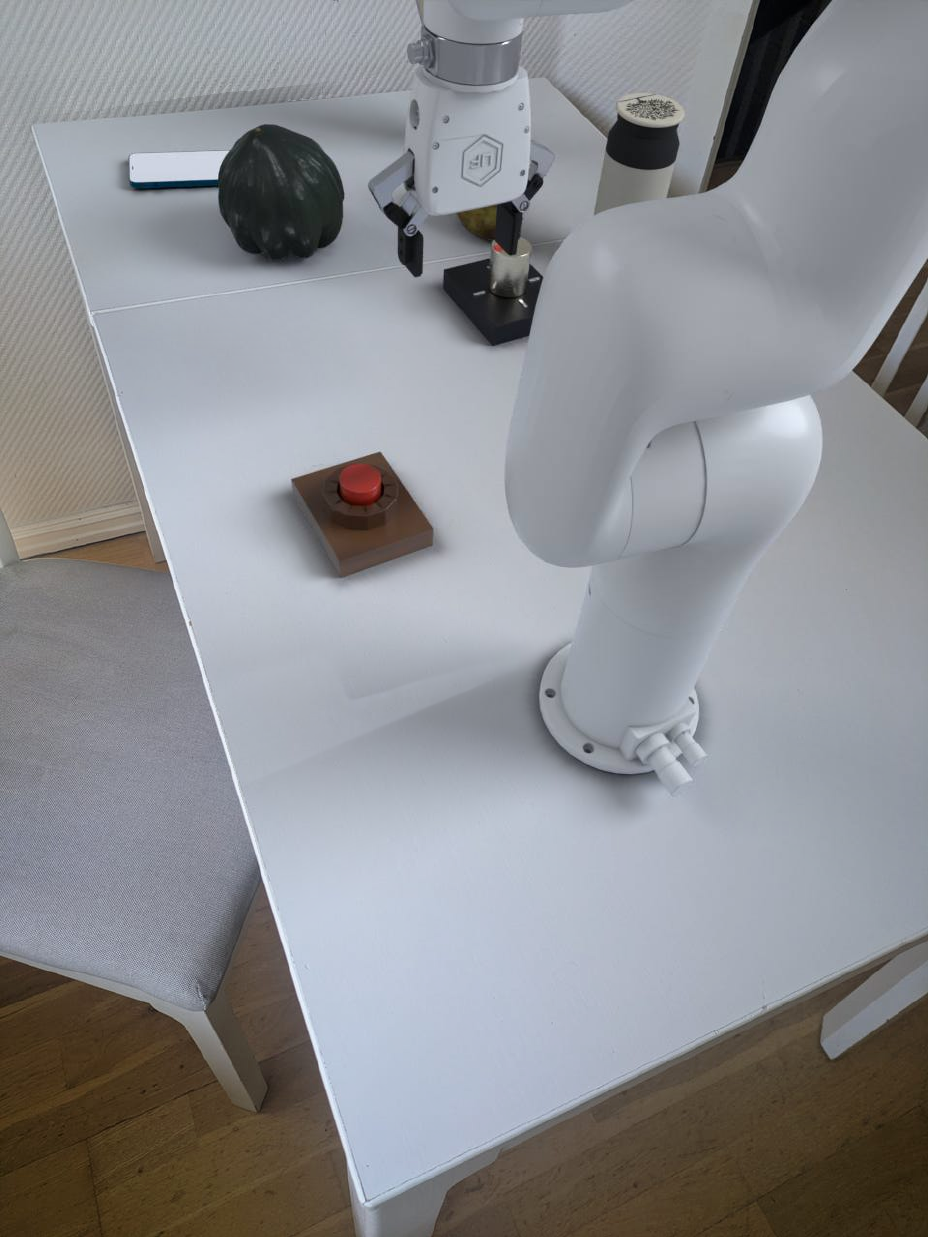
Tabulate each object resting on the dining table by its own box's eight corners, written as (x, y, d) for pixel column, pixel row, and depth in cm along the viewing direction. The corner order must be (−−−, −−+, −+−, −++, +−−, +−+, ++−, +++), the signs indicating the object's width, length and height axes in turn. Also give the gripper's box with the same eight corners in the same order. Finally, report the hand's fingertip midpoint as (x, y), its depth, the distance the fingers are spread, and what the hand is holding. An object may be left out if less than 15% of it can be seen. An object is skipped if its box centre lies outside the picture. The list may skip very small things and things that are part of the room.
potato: (460, 253, 111) (464, 189, 104) (435, 200, 118) (438, 137, 112) (524, 248, 113) (532, 184, 106) (496, 195, 120) (502, 133, 114)
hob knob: (514, 272, 105) (519, 229, 100) (533, 293, 102) (539, 249, 98) (481, 280, 103) (484, 236, 99) (498, 301, 101) (503, 257, 97)
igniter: (432, 545, 81) (434, 514, 78) (340, 578, 78) (338, 547, 75) (380, 468, 87) (380, 436, 84) (292, 495, 84) (289, 464, 81)
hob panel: (568, 324, 103) (572, 304, 101) (492, 346, 100) (494, 325, 98) (515, 270, 109) (518, 249, 107) (442, 288, 106) (443, 267, 104)
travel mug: (661, 272, 111) (700, 119, 97) (604, 282, 109) (635, 127, 95) (631, 238, 115) (664, 87, 101) (575, 247, 113) (601, 94, 99)
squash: (345, 158, 112) (256, 68, 101) (383, 224, 105) (291, 136, 93) (268, 239, 117) (174, 163, 105) (299, 309, 109) (202, 235, 98)
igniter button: (387, 499, 80) (387, 484, 78) (350, 511, 78) (349, 497, 77) (370, 473, 81) (370, 458, 80) (333, 485, 80) (332, 470, 79)
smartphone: (253, 155, 122) (129, 159, 119) (252, 148, 122) (128, 152, 118) (258, 185, 118) (130, 190, 115) (258, 178, 117) (128, 183, 114)
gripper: (389, 87, 65) (390, 300, 78) (591, 56, 70) (560, 260, 84) (348, 47, 69) (355, 256, 82) (543, 21, 74) (520, 221, 88)
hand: (459, 258), depth 83 cm, fingers open, 9 cm apart
